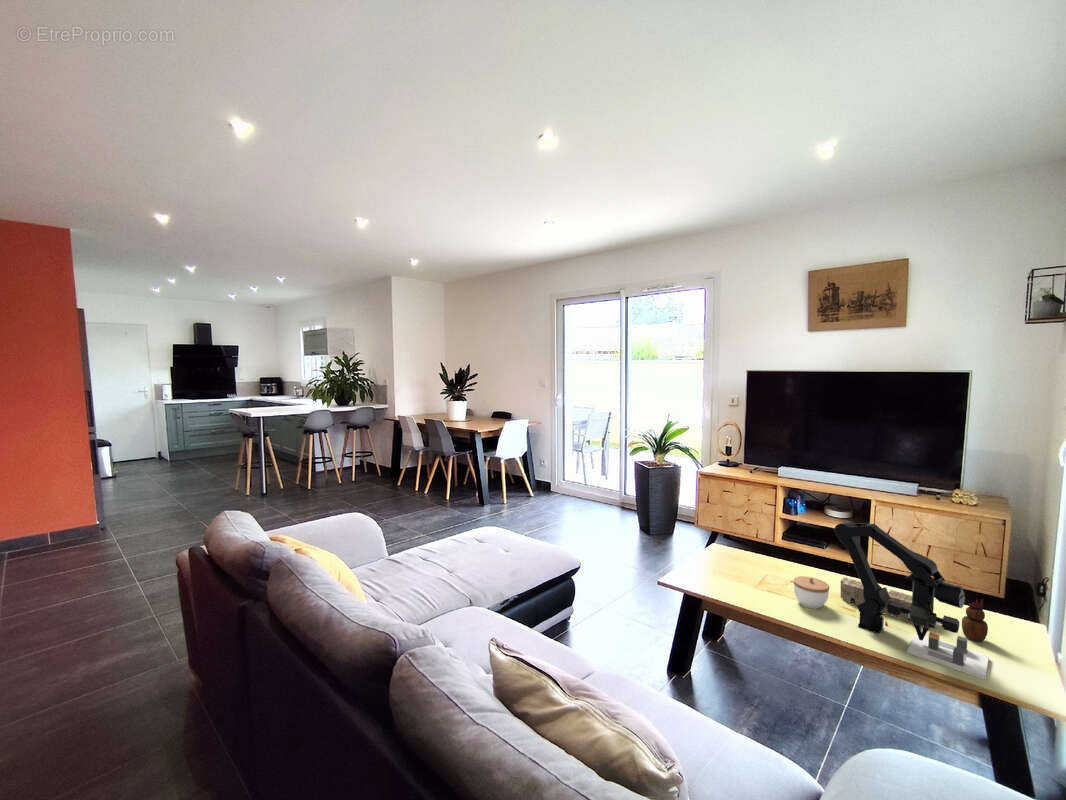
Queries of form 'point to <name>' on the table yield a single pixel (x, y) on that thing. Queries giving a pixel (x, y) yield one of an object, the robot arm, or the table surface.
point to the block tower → (855, 591)
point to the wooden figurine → (975, 622)
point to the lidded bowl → (811, 591)
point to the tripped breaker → (933, 640)
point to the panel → (951, 655)
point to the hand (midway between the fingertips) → (921, 639)
